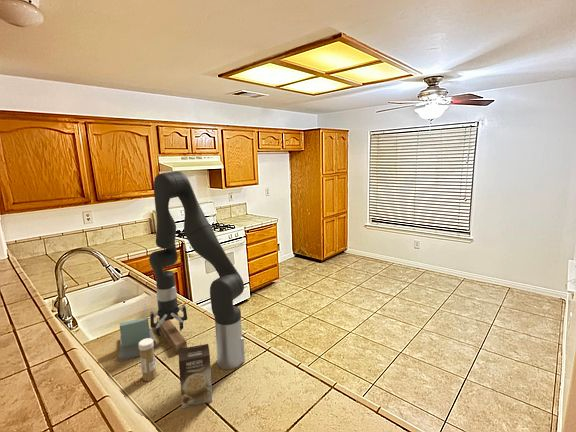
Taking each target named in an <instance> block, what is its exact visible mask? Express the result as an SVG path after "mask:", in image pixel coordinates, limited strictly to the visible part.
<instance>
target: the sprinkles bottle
mask: <svg viewBox="0 0 576 432" xmlns="http://www.w3.org/2000/svg"><path fill="white" fill-rule="evenodd" d="M153 345H154V338H153V339H151V338H146V339H143V340H141V341H140V342H139V344H138V346H139V350H140V356H139V358H140V365H141V366H140V368H141V373H142V381H145V382H149V381H152V380H154V379H155V378H156V377H157V366H156V358H155V348H154V349H153Z"/></svg>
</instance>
